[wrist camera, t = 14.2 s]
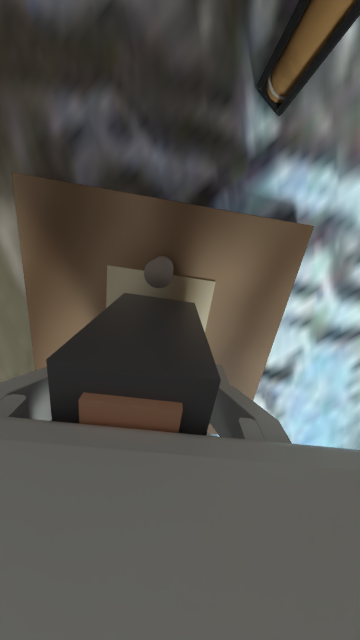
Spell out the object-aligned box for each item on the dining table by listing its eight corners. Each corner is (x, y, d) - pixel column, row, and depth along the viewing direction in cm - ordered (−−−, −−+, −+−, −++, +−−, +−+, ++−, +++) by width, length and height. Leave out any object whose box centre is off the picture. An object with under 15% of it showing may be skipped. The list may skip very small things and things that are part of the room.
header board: (298, 228, 12) (374, 216, 8) (235, 420, 18) (257, 483, 13) (32, 181, 11) (-73, 133, 6) (52, 402, 16) (3, 463, 12)
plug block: (194, 302, 11) (223, 387, 4) (178, 387, 13) (182, 534, 6) (124, 292, 11) (38, 365, 4) (119, 380, 13) (56, 527, 6)
